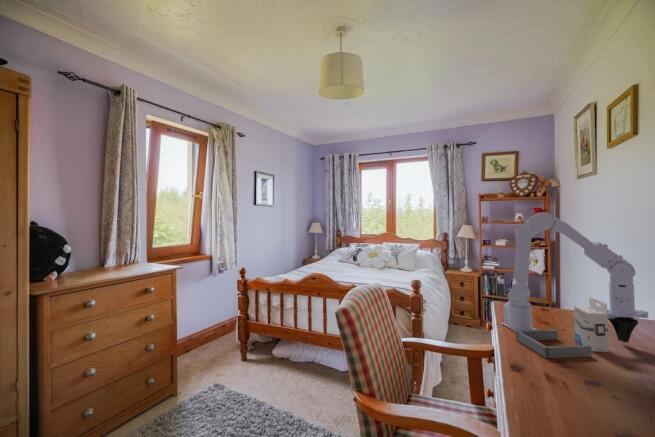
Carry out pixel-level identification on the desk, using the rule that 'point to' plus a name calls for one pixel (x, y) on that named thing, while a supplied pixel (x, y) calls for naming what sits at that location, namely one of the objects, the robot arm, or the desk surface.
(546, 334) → the frame
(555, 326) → the desk surface
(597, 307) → the ink box
